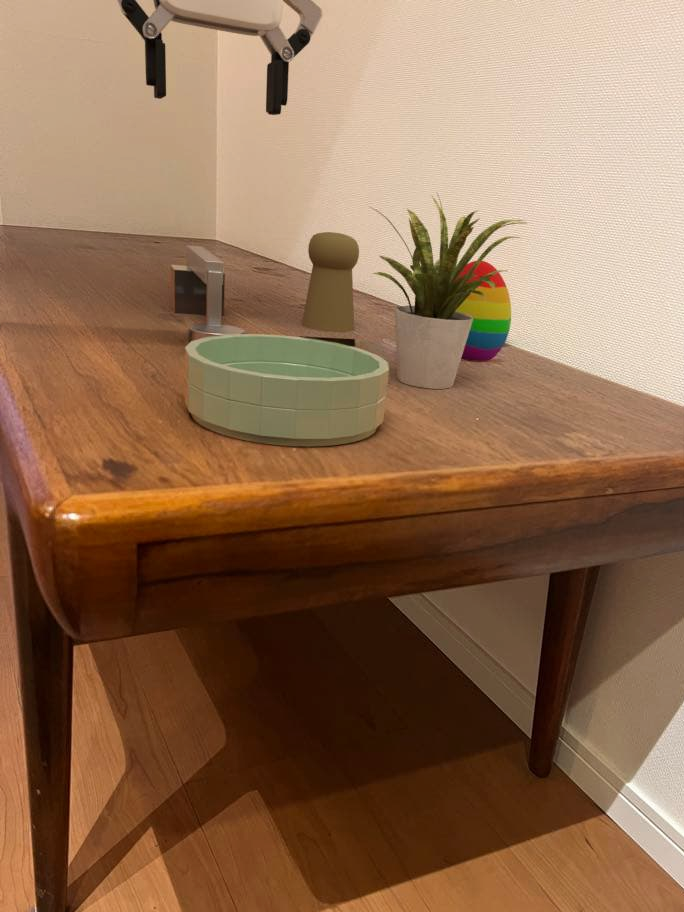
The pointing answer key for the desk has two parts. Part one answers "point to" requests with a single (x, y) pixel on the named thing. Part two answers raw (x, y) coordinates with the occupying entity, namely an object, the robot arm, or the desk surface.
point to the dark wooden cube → (189, 291)
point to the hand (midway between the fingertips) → (218, 105)
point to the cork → (331, 285)
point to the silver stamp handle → (209, 294)
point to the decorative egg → (486, 314)
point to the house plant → (437, 302)
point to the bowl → (285, 389)
